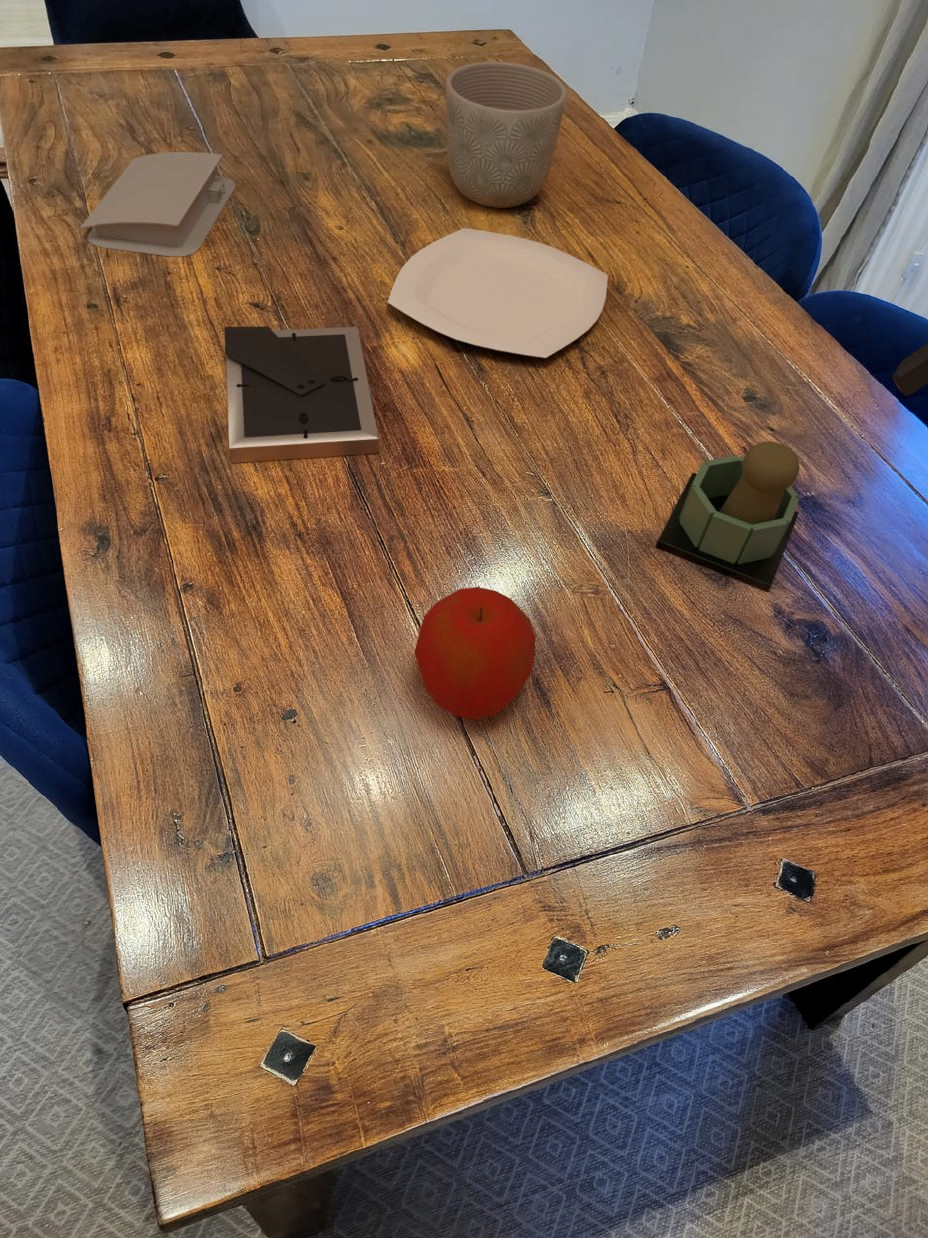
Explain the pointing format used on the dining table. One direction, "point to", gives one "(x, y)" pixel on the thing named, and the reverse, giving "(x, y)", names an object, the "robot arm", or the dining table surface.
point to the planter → (502, 130)
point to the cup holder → (727, 527)
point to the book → (161, 205)
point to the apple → (475, 652)
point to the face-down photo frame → (297, 394)
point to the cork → (762, 483)
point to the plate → (500, 292)
